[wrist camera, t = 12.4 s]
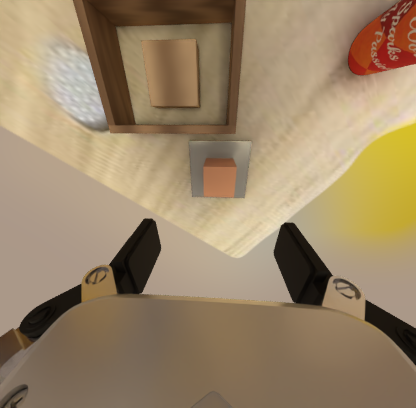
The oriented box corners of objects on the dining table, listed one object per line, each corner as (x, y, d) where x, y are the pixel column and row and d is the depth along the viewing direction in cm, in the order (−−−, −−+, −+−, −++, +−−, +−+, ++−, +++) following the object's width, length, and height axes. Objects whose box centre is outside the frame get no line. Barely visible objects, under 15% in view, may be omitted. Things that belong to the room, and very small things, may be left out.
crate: (240, 10, 19) (248, -30, 14) (231, 131, 26) (235, 133, 21) (106, 15, 20) (66, -21, 15) (131, 130, 27) (110, 133, 22)
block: (233, 158, 28) (236, 167, 22) (231, 184, 30) (233, 197, 25) (206, 158, 28) (203, 166, 23) (206, 183, 30) (203, 196, 25)
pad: (251, 140, 27) (251, 141, 26) (243, 196, 32) (244, 198, 31) (189, 140, 27) (188, 140, 27) (192, 195, 33) (192, 196, 32)
